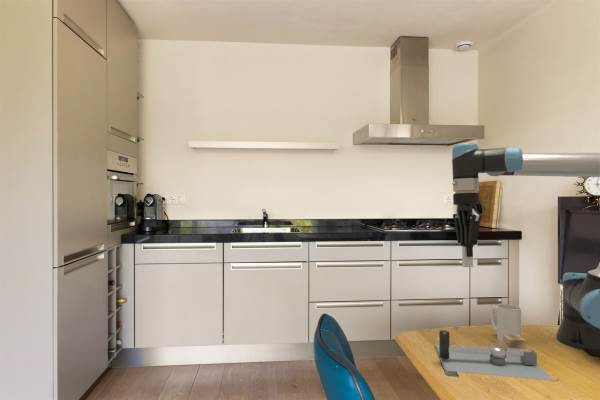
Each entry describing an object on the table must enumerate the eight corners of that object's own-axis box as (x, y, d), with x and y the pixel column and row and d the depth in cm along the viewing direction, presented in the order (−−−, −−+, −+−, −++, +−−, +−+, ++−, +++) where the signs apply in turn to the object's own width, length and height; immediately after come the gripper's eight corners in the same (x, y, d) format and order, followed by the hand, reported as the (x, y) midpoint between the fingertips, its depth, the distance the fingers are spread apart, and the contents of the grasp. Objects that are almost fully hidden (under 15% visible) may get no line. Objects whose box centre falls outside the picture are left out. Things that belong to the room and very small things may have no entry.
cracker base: (524, 355, 108) (524, 345, 108) (554, 385, 90) (554, 373, 90) (435, 347, 113) (435, 337, 113) (446, 375, 95) (446, 363, 95)
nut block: (518, 350, 108) (518, 334, 108) (526, 356, 104) (526, 340, 104) (502, 349, 109) (502, 334, 109) (509, 355, 105) (509, 339, 105)
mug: (526, 347, 114) (526, 308, 114) (510, 349, 112) (510, 310, 112) (498, 336, 123) (498, 300, 124) (483, 338, 121) (483, 302, 121)
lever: (530, 359, 101) (530, 332, 101) (538, 366, 96) (538, 338, 96) (437, 355, 103) (437, 328, 103) (441, 361, 99) (441, 334, 99)
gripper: (444, 193, 122) (446, 264, 122) (465, 191, 109) (467, 270, 109) (466, 193, 123) (467, 263, 123) (489, 191, 110) (491, 269, 110)
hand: (467, 266), depth 116 cm, fingers closed
